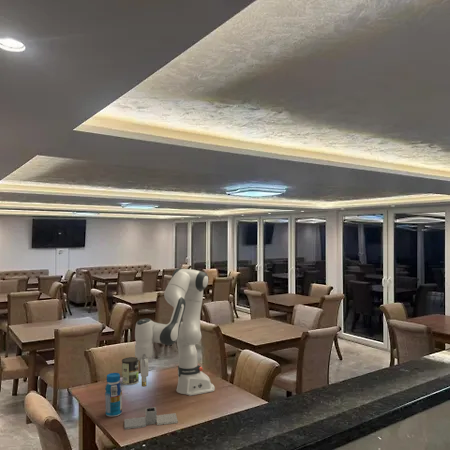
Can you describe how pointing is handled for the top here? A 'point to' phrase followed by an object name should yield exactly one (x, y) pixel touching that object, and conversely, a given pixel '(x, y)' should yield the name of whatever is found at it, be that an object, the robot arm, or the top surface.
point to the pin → (143, 383)
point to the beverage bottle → (113, 395)
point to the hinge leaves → (150, 419)
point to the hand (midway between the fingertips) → (144, 380)
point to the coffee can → (130, 371)
